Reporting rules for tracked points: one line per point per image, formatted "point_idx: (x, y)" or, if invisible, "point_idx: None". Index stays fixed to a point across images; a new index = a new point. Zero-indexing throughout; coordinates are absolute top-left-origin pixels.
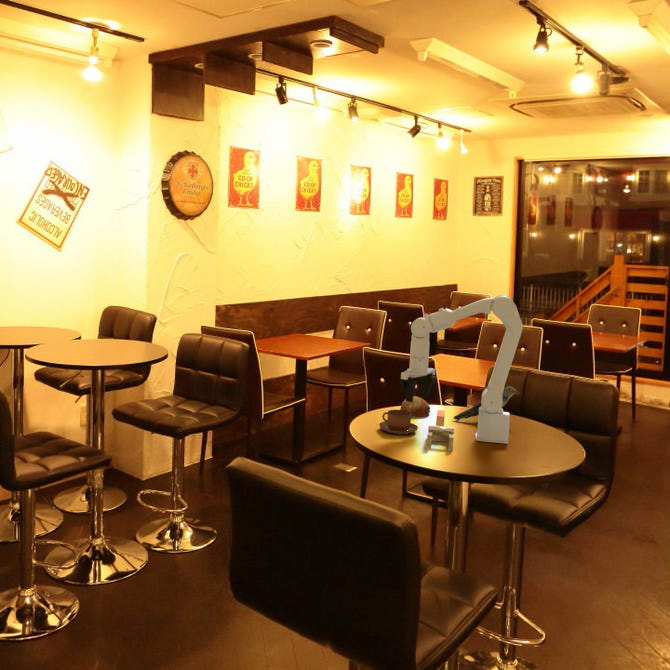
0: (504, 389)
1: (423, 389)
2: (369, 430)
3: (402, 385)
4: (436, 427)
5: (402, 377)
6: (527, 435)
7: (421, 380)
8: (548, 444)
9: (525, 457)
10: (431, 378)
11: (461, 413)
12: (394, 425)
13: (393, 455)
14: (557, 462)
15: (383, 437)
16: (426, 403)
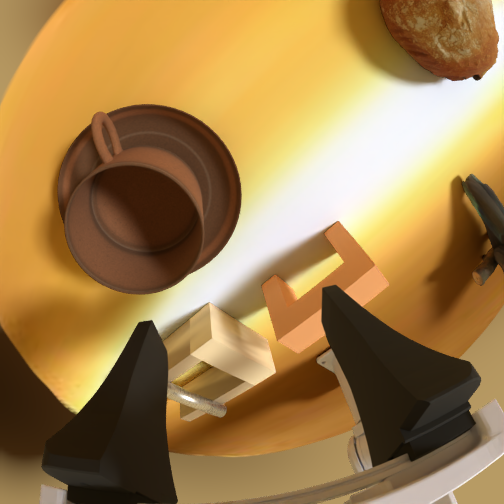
0: None
1: (349, 344)
2: (38, 141)
3: (80, 416)
4: (176, 401)
5: (51, 500)
6: (441, 339)
7: (387, 388)
8: None
9: (298, 424)
10: (374, 464)
11: (487, 203)
12: (97, 236)
13: (35, 363)
14: (317, 436)
15: (49, 245)
16: (486, 68)
